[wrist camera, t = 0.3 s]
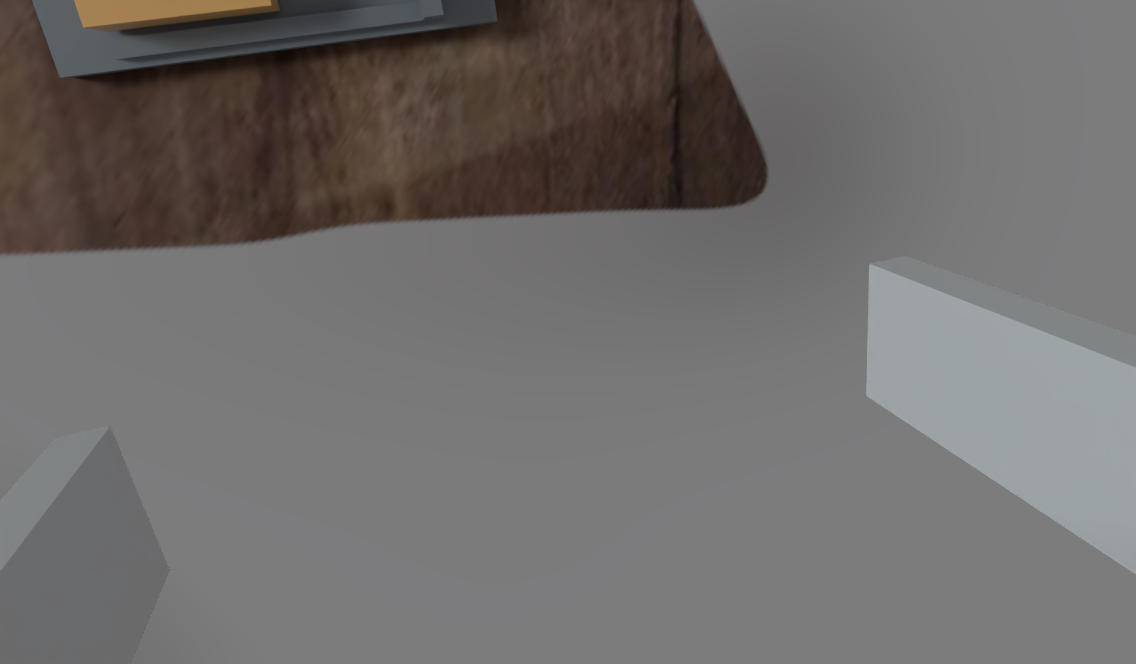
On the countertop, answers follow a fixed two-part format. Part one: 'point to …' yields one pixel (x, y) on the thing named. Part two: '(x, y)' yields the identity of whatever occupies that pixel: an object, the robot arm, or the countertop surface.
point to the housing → (245, 31)
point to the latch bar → (163, 12)
